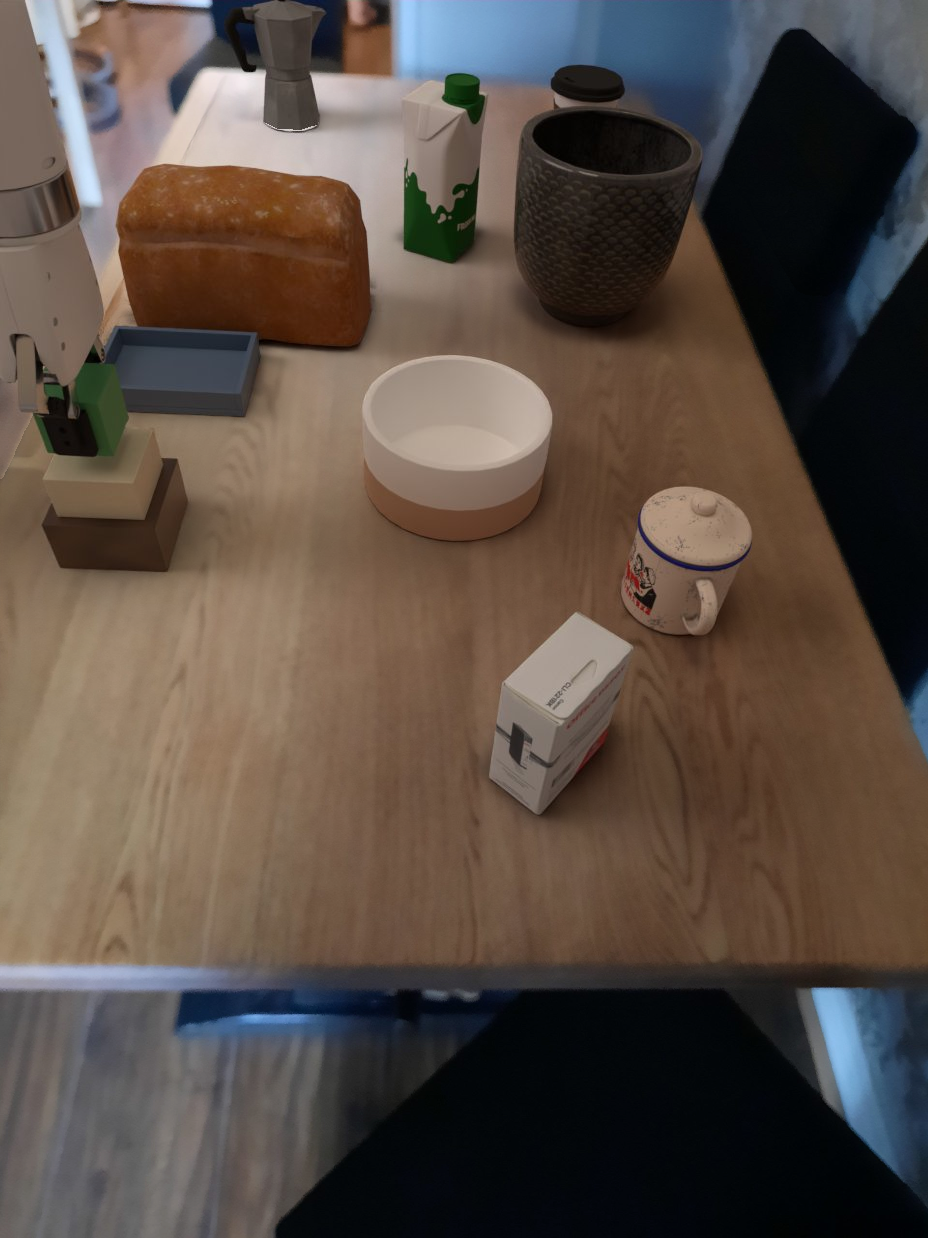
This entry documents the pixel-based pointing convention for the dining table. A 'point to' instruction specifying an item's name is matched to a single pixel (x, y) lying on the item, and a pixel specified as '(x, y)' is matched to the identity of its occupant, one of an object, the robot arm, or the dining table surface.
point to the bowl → (455, 446)
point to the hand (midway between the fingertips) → (87, 428)
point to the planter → (600, 208)
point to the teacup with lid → (684, 559)
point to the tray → (184, 369)
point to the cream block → (107, 479)
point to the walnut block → (123, 531)
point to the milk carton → (442, 165)
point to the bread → (246, 253)
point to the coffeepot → (281, 58)
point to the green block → (95, 405)
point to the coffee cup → (586, 86)
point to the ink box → (557, 710)
